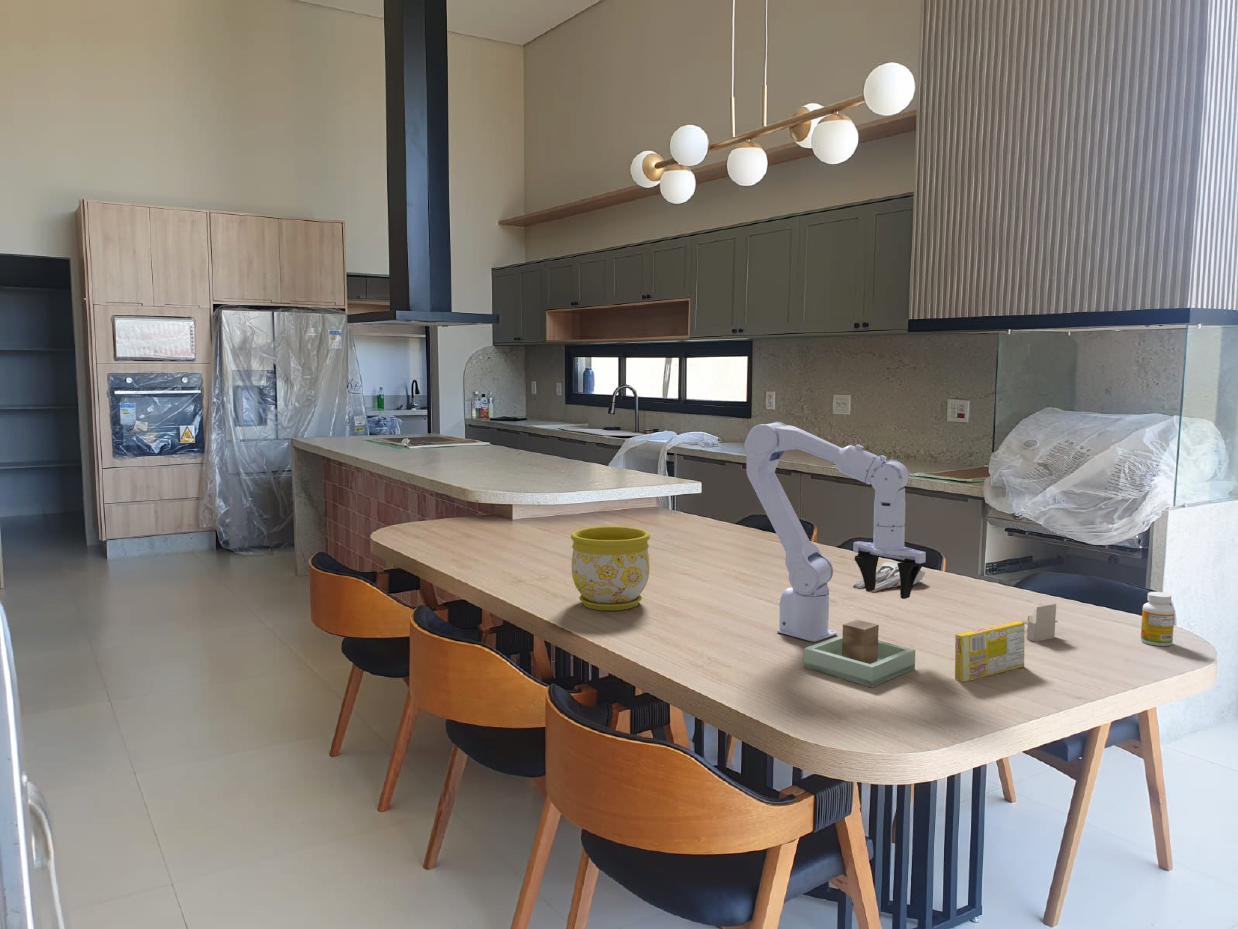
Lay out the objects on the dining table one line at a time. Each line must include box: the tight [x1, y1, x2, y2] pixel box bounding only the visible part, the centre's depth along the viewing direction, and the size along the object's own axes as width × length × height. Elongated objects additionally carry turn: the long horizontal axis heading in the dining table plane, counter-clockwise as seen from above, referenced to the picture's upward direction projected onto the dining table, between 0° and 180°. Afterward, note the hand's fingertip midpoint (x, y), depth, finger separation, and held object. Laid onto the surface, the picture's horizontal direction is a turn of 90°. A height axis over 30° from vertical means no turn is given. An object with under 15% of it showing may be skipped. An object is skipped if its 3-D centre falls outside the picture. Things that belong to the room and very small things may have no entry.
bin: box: [803, 634, 916, 688], centre depth 162 cm, size 14×14×4 cm
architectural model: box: [1021, 602, 1059, 642], centre depth 180 cm, size 3×7×7 cm, turn 117°
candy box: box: [954, 620, 1026, 683], centre depth 159 cm, size 16×2×8 cm, turn 119°
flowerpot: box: [570, 525, 651, 611], centre depth 205 cm, size 18×18×16 cm
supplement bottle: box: [1140, 591, 1176, 647], centre depth 176 cm, size 5×5×10 cm
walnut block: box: [841, 619, 879, 664], centre depth 162 cm, size 4×4×7 cm
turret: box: [852, 561, 927, 593], centre depth 223 cm, size 10×20×5 cm, turn 123°
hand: (887, 594), depth 173 cm, fingers open, 7 cm apart
